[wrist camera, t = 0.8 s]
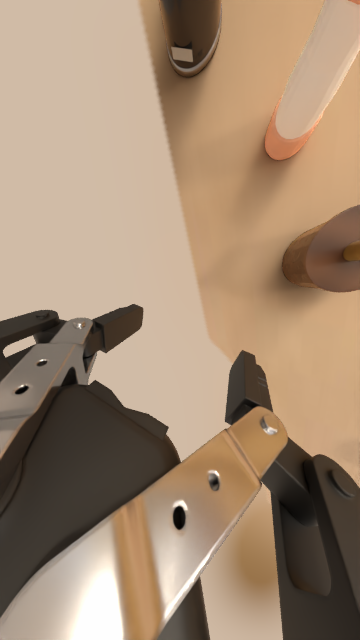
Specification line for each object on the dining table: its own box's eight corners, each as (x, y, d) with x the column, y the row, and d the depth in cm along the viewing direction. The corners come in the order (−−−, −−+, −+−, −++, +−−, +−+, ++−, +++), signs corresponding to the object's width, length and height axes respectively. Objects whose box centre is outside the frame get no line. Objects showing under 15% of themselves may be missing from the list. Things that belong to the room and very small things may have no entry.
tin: (290, 229, 28) (319, 210, 20) (358, 225, 26) (423, 203, 18) (276, 285, 32) (297, 288, 24) (335, 287, 29) (380, 291, 22)
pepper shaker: (255, 145, 26) (351, -151, 8) (289, 93, 23) (555, -540, 5) (284, 169, 26) (443, -69, 8) (321, 121, 23) (691, -407, 5)
